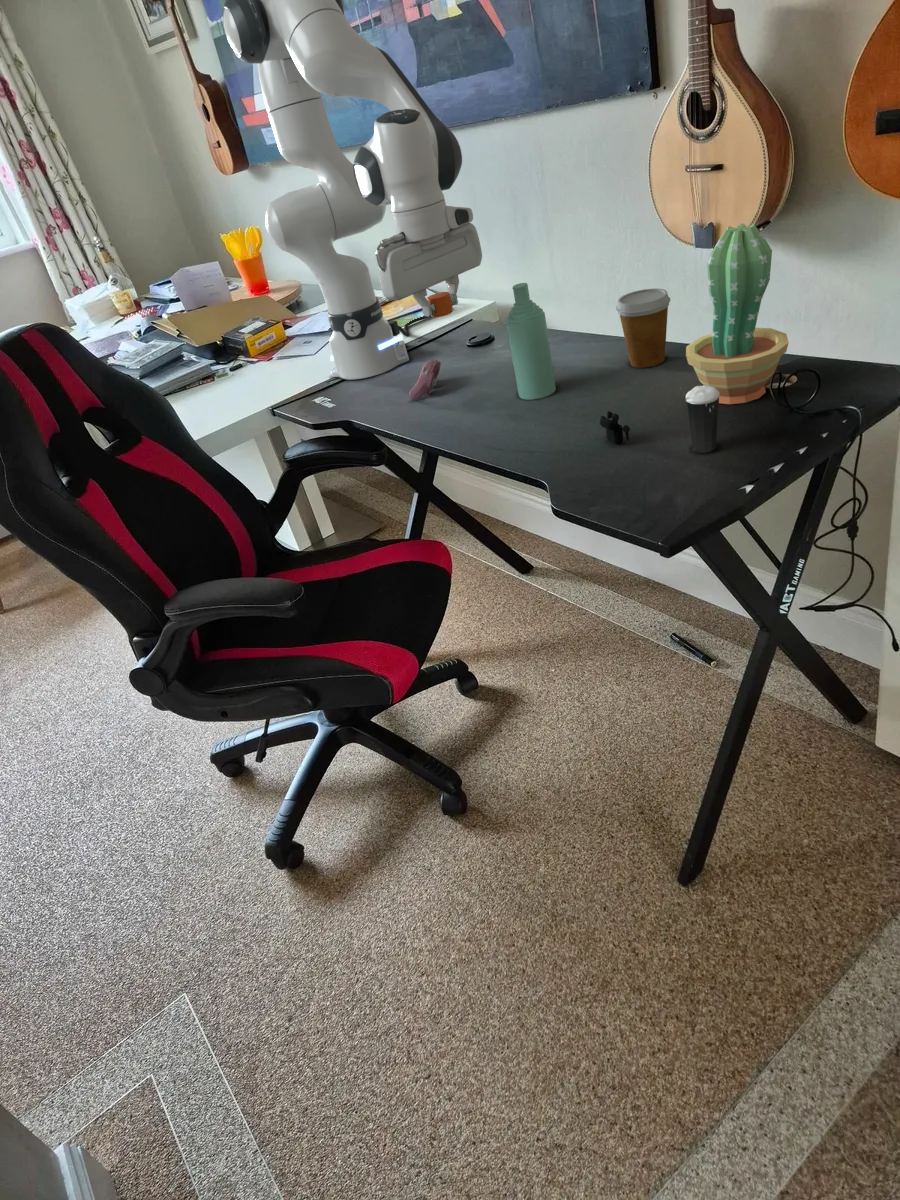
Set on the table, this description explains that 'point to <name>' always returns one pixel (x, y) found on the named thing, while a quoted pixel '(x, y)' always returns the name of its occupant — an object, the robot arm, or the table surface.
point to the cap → (441, 303)
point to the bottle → (530, 346)
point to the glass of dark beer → (703, 417)
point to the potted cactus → (738, 320)
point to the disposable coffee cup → (644, 325)
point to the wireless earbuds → (614, 428)
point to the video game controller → (425, 380)
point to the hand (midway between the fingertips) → (441, 310)
